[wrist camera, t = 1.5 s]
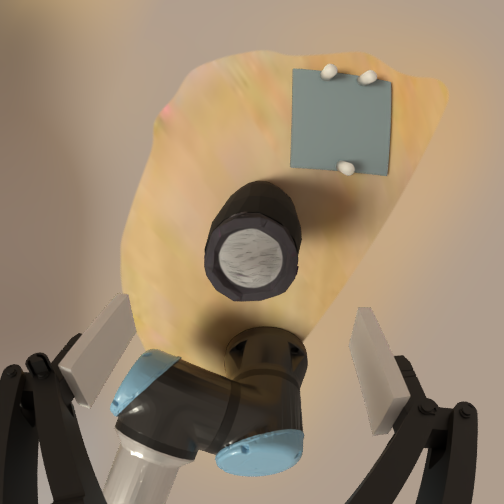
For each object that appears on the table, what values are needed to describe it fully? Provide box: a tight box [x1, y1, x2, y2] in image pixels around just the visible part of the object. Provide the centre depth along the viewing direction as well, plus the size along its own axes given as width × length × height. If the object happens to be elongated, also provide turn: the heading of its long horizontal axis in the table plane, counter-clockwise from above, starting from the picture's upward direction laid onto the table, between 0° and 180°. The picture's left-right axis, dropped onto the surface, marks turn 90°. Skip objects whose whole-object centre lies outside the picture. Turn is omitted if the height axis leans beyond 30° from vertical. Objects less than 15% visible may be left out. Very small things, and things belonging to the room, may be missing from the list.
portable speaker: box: [204, 181, 302, 301], centre depth 33 cm, size 9×9×20 cm
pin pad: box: [290, 64, 391, 176], centre depth 34 cm, size 14×14×5 cm
